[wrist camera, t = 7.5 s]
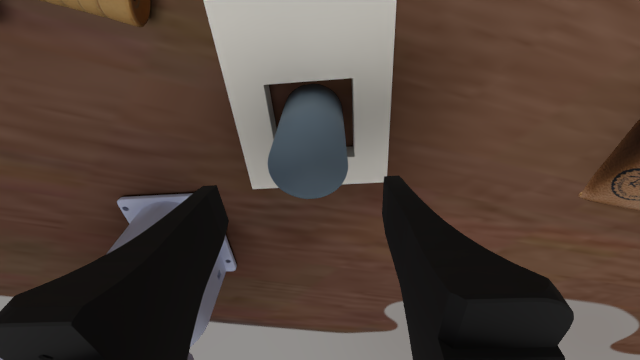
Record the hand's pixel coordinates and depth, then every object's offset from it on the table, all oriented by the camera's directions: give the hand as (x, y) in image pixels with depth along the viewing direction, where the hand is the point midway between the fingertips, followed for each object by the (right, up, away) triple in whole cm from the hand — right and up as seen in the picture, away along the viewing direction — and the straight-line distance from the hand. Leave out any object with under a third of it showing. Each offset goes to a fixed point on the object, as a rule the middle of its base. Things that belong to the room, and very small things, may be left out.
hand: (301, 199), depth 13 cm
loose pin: (0, +5, +8) cm, 9 cm away
